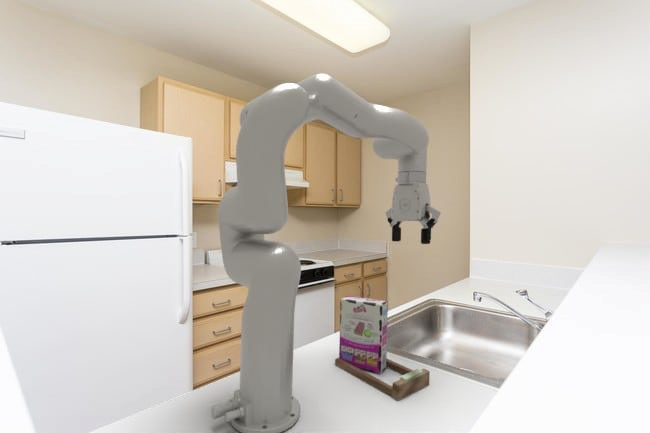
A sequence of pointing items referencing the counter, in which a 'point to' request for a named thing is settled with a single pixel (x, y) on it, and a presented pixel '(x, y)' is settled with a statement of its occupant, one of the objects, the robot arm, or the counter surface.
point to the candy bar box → (364, 333)
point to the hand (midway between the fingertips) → (410, 242)
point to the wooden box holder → (400, 388)
